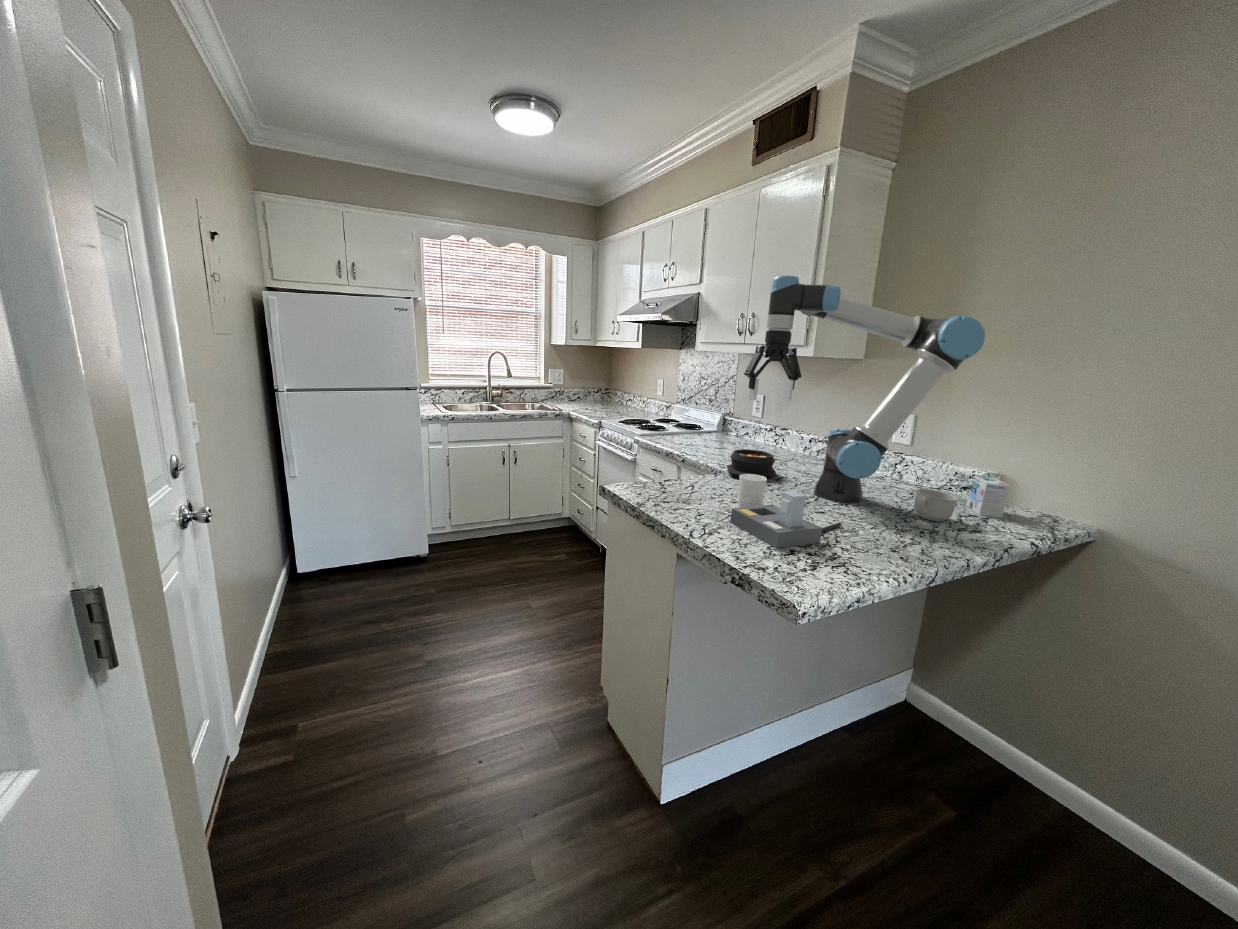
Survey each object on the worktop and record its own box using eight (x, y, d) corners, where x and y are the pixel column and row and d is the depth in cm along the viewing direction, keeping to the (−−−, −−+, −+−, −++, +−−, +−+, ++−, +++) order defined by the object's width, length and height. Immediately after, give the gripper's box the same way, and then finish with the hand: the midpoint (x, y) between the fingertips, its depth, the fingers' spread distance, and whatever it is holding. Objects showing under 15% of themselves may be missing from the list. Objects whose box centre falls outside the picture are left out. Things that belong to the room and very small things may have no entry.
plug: (788, 535, 133) (794, 491, 131) (799, 540, 130) (805, 495, 127) (773, 536, 132) (779, 492, 129) (784, 542, 128) (790, 496, 125)
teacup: (928, 511, 163) (933, 487, 161) (961, 523, 153) (966, 497, 151) (896, 514, 158) (901, 489, 156) (928, 526, 148) (933, 500, 146)
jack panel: (770, 518, 146) (772, 504, 145) (819, 542, 130) (822, 527, 129) (730, 522, 141) (731, 507, 140) (776, 548, 124) (778, 532, 123)
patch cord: (837, 525, 144) (838, 521, 144) (841, 526, 143) (841, 523, 143) (805, 535, 134) (805, 532, 133) (808, 537, 133) (809, 533, 133)
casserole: (764, 485, 183) (767, 462, 181) (715, 475, 192) (718, 453, 190) (783, 473, 204) (786, 452, 202) (738, 464, 213) (740, 445, 211)
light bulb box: (966, 506, 172) (973, 475, 169) (988, 508, 170) (996, 477, 168) (979, 515, 162) (986, 483, 159) (1003, 518, 160) (1011, 485, 158)
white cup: (743, 503, 159) (746, 472, 157) (767, 509, 154) (771, 477, 152) (731, 508, 153) (735, 476, 151) (755, 515, 148) (760, 482, 146)
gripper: (801, 332, 163) (792, 399, 168) (737, 327, 153) (730, 398, 158) (819, 332, 156) (809, 402, 161) (753, 327, 146) (744, 401, 151)
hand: (770, 400), depth 160 cm, fingers open, 13 cm apart
